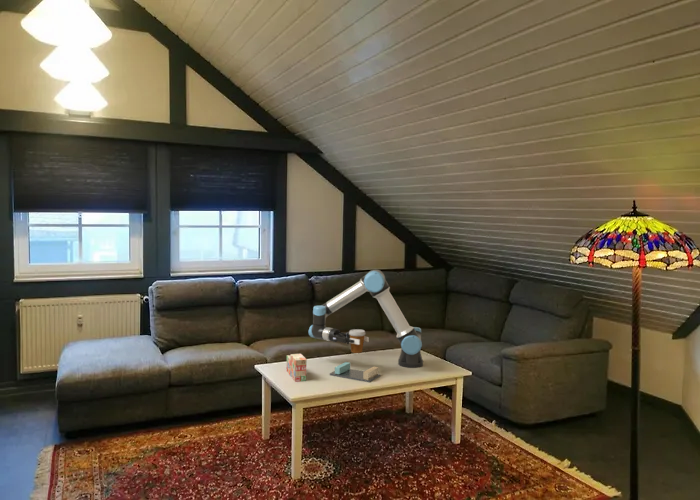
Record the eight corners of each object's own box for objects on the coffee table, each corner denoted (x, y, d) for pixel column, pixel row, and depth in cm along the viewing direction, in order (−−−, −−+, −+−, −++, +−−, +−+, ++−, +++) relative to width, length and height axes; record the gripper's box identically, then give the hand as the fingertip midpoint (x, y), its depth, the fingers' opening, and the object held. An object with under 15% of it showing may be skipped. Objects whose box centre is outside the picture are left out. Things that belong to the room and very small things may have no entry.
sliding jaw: (334, 373, 316) (334, 367, 315) (345, 368, 327) (345, 361, 327) (339, 374, 314) (339, 368, 314) (350, 368, 326) (350, 362, 326)
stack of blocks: (286, 371, 323) (286, 350, 322) (296, 370, 325) (297, 349, 324) (295, 382, 303) (295, 359, 302) (306, 381, 305) (306, 359, 304)
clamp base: (329, 375, 317) (329, 366, 316) (341, 369, 329) (341, 360, 329) (369, 382, 305) (369, 373, 305) (380, 376, 318) (380, 367, 317)
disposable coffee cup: (368, 351, 320) (369, 330, 319) (358, 354, 312) (358, 333, 311) (355, 348, 325) (355, 328, 324) (344, 351, 318) (345, 330, 317)
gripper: (342, 337, 337) (373, 344, 324) (320, 344, 320) (353, 350, 307) (342, 325, 337) (374, 331, 324) (320, 331, 320) (353, 337, 307)
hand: (363, 340), depth 315 cm, fingers closed on disposable coffee cup, 8 cm apart
